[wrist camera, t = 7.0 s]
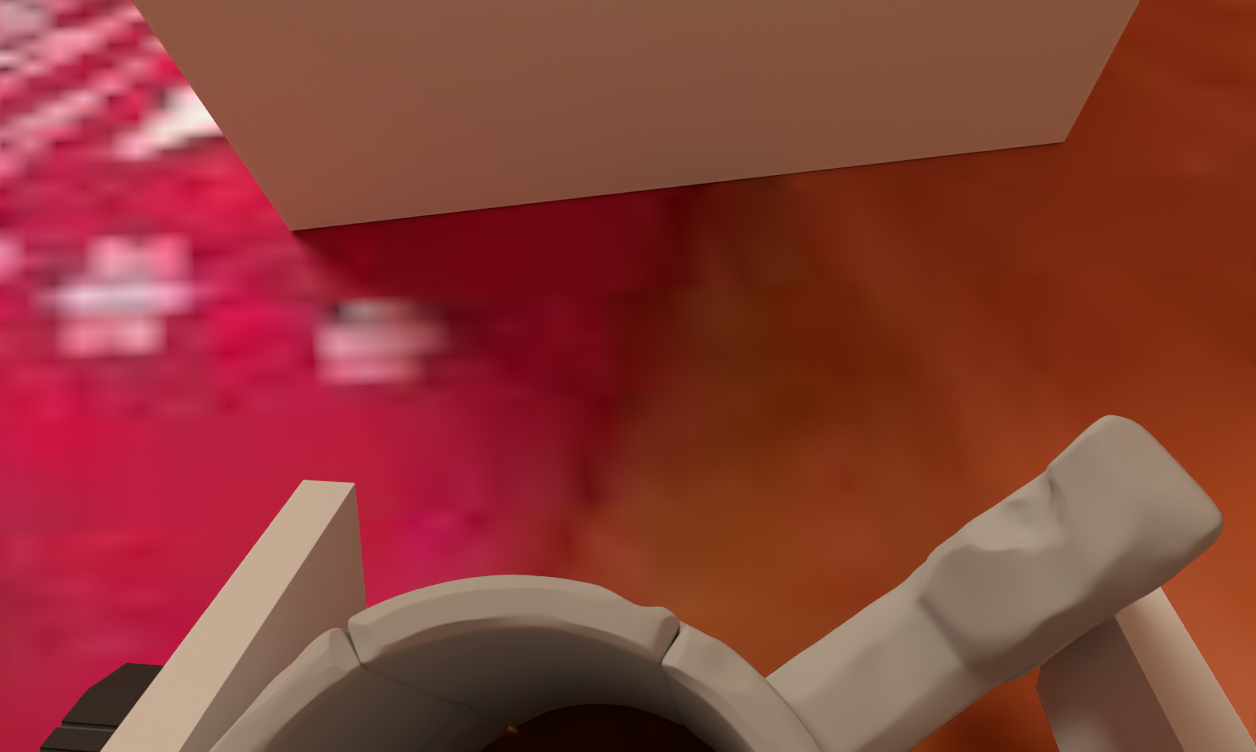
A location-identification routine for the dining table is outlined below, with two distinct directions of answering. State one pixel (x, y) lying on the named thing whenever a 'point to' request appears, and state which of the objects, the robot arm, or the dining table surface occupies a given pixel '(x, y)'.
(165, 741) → the robot arm
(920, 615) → the mug
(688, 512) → the dining table surface
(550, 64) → the stand
